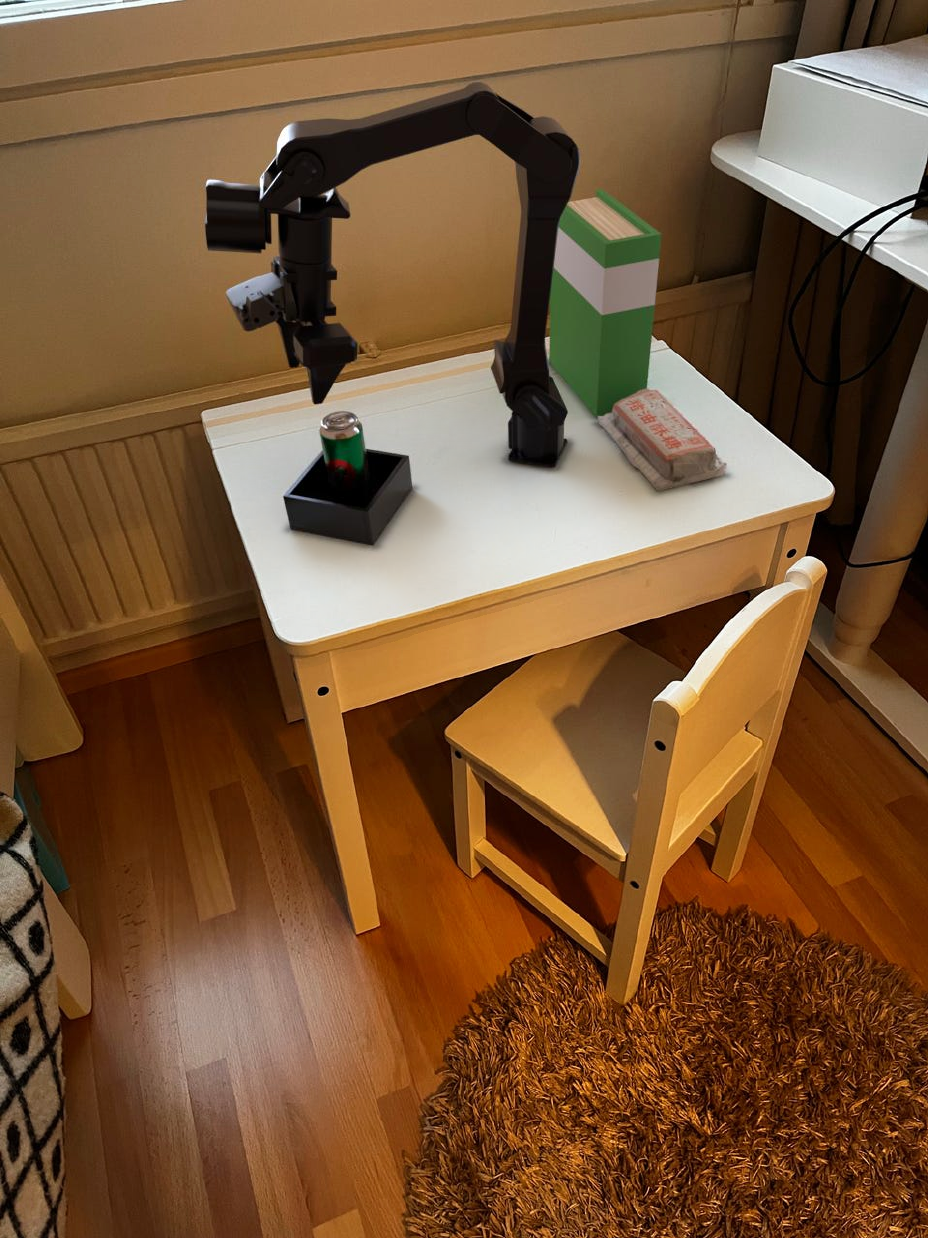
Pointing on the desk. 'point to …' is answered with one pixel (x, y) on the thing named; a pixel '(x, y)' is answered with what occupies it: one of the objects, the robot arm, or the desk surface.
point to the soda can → (346, 459)
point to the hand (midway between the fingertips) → (305, 384)
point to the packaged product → (661, 441)
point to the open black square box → (325, 518)
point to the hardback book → (603, 300)
